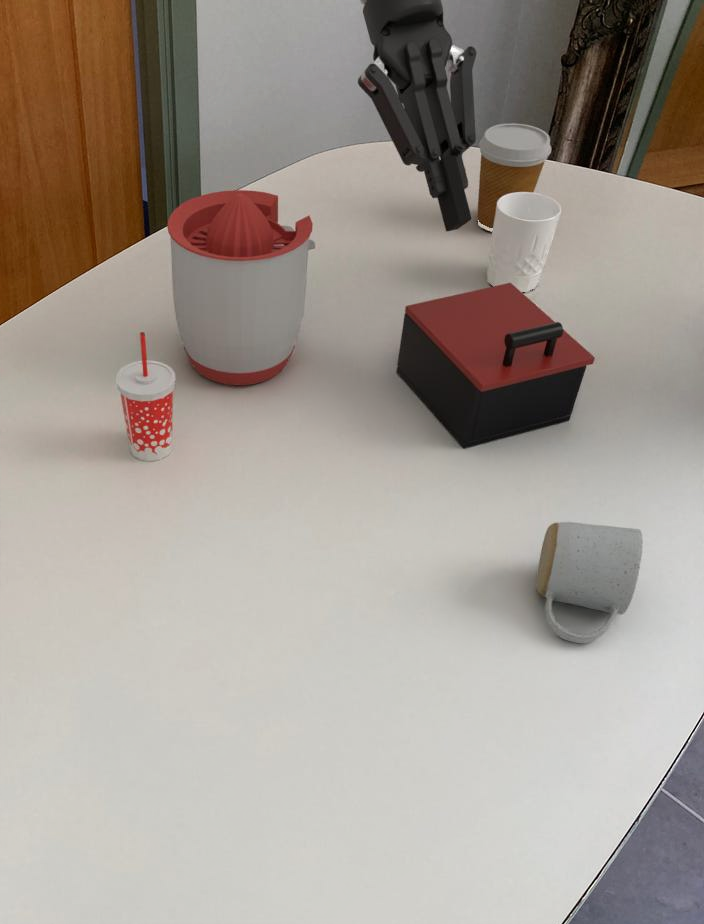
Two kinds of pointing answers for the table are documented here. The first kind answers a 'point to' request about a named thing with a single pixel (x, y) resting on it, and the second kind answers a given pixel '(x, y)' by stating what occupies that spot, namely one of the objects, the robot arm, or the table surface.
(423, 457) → the table surface
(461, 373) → the black box
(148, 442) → the beverage cup
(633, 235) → the table surface
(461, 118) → the robot arm
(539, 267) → the white cup
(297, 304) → the citrus juicer
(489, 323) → the box lid
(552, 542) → the ceramic mug
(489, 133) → the disposable coffee cup
